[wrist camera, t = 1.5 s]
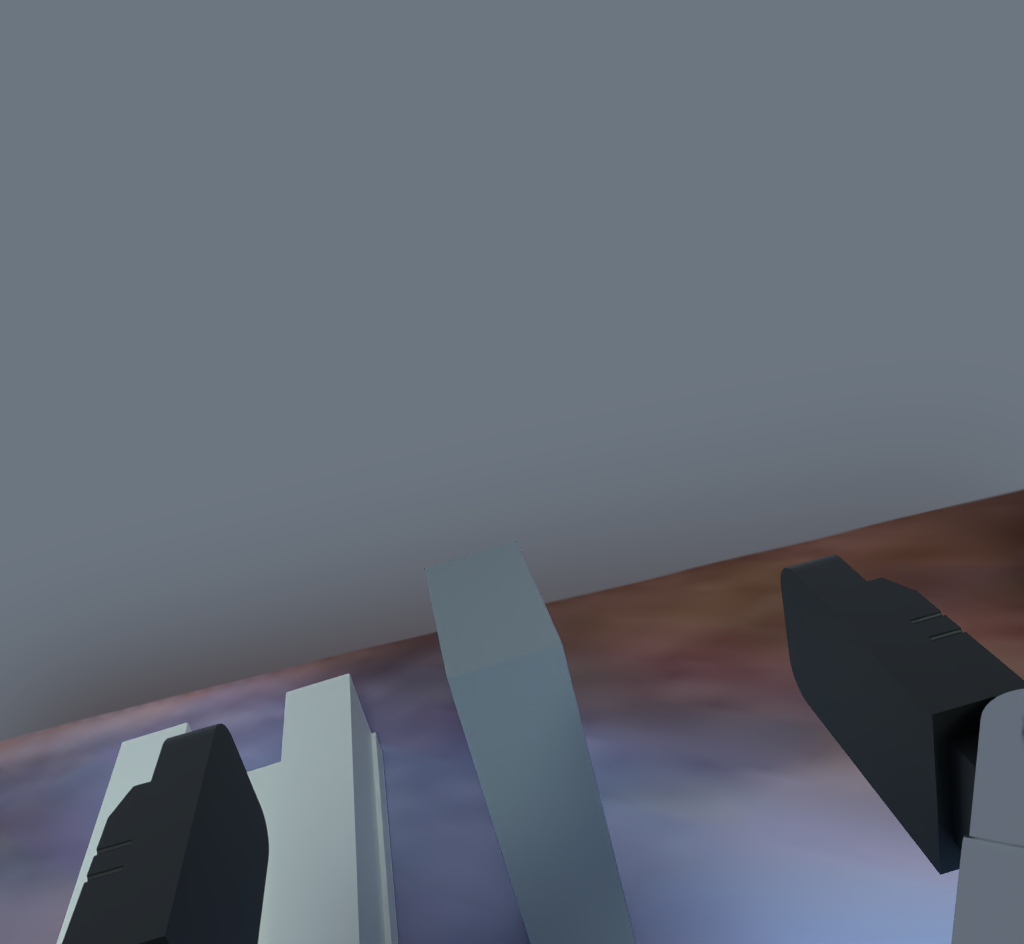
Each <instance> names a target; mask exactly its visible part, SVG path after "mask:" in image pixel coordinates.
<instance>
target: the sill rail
mask: <svg viewBox="0 0 1024 944" xmlns="http://www.w3.org/2000/svg"><path fill="white" fill-rule="evenodd" d="M188 732H192V730H191V728H190V726H189V724H188V722H187V723H184V724H181V725H177V726H174V727H171V728H167V729H164V730H161V731H158V732H154V733H151V734H148V735H144V736H141V737H138V738H135V739H131V740H128V741H125V742H122V745H121V748H120V752H119V755H118V758H117V761H116V764H115V767H114V770H113V773H112V776H111V779H110V782H109V785H108V788H107V791H106V794H105V797H104V800H103V803H102V807H101V810H100V813H99V816H98V819H97V822H96V825H95V828H94V831H93V834H92V837H91V840H90V843H89V846H88V849H87V852H86V855H85V858H84V861H83V865H82V868H81V871H80V874H79V877H78V880H77V883H76V886H75V889H74V892H73V895H72V898H71V901H70V904H69V907H68V910H67V913H66V916H65V920H64V923H63V926H62V929H61V932H60V935H59V938H58V941H57V944H62V942H63V939H64V936H65V933H66V931H67V928H68V925H69V923H70V920H71V917H72V914H73V912H74V909H75V906H76V903H77V901H78V898H79V895H80V892H81V890H82V887H83V884H84V882H87V873H88V871H89V868H90V865H91V862H92V860H93V857H94V856H95V855H97V850H96V849H97V846H98V843H99V841H100V838H101V835H102V832H103V830H104V827H105V824H106V821H107V819H108V817H109V816H110V815H111V813H112V812H113V811H114V810H115V808H116V807H117V806H118V805H119V803H120V802H121V801H122V800H123V798H124V797H125V796H126V795H127V793H128V792H129V791H130V790H131V788H132V787H133V786H136V785H140V784H143V783H147V782H150V781H151V779H152V776H153V773H154V770H155V767H156V764H157V761H158V758H159V754H160V751H161V748H162V745H163V743H164V741H165V740H166V739H167V738H170V737H174V736H177V735H181V734H184V733H188ZM247 774H248V777H249V779H250V781H251V784H252V786H253V789H254V791H255V793H256V796H257V798H258V801H259V803H260V805H261V808H262V811H263V814H264V817H265V821H266V826H267V831H268V839H269V859H268V867H267V875H266V883H265V891H264V899H263V907H262V914H261V922H260V930H259V938H258V944H399V941H398V929H397V917H396V905H395V894H394V882H393V870H392V858H391V846H390V834H389V822H388V810H387V798H386V787H385V775H384V763H383V751H382V749H381V746H380V743H379V740H378V738H377V735H376V732H375V733H371V731H370V728H369V725H368V723H367V720H366V717H365V714H364V712H363V709H362V706H361V703H360V701H359V698H358V695H357V693H356V690H355V687H354V684H353V682H352V679H351V676H350V673H348V674H345V675H342V676H339V677H335V678H332V679H329V680H325V681H322V682H319V683H315V684H312V685H309V686H306V687H302V688H299V689H296V690H292V691H289V692H286V702H285V715H284V729H283V743H282V756H281V762H278V763H275V764H271V765H268V766H265V767H262V768H259V769H255V770H252V771H249V772H247Z"/></svg>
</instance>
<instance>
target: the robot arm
mask: <svg viewBox="0 0 1024 944" xmlns="http://www.w3.org/2000/svg"><path fill="white" fill-rule="evenodd" d="M781 590H782V598H783V606H784V614H785V623H786V631H787V639H788V647H789V656H790V662H791V667H792V670H793V674H794V677H795V680H796V682H797V685H798V687H799V689H800V691H801V693H802V695H803V697H804V699H805V700H806V702H807V703H808V705H809V706H810V707H811V708H812V710H813V711H814V712H815V714H816V715H817V716H818V717H819V719H820V720H821V721H822V723H823V724H824V725H825V727H826V728H827V729H828V730H829V732H830V733H831V734H832V736H833V737H834V738H835V739H836V741H837V742H838V743H839V745H840V746H841V747H842V748H843V750H844V751H845V752H846V754H847V755H848V756H849V757H850V759H851V760H852V761H853V763H854V764H855V765H856V766H857V768H858V769H859V770H860V772H861V773H862V774H863V776H864V777H865V778H866V779H867V781H868V782H869V783H870V785H871V786H872V787H873V788H874V790H875V791H876V792H877V794H878V795H879V796H880V797H881V799H882V800H883V801H884V803H885V804H886V805H887V806H888V808H889V809H890V810H891V812H892V813H893V814H894V815H895V817H896V818H897V819H898V821H899V822H900V823H901V824H902V826H903V827H904V828H905V830H906V831H907V832H908V834H909V835H910V836H911V837H912V839H913V840H914V841H915V843H916V844H917V845H918V846H919V848H920V849H921V850H922V852H923V853H924V854H925V855H926V857H927V858H928V859H929V861H930V862H931V863H932V864H933V866H934V867H935V868H936V870H937V871H938V872H939V873H940V875H941V874H944V873H947V872H950V871H954V870H957V869H959V877H958V887H957V896H956V906H955V915H954V924H953V934H952V943H951V944H1024V680H1023V679H1021V678H1020V677H1019V676H1018V675H1017V674H1015V673H1014V672H1013V671H1012V670H1011V669H1009V668H1008V667H1007V666H1006V665H1005V664H1003V663H1002V662H1001V661H1000V660H999V659H997V658H996V657H995V656H994V655H993V654H991V653H990V652H989V651H988V650H987V649H985V648H984V647H983V646H982V645H981V644H979V643H978V642H977V641H976V640H975V639H973V638H972V637H971V636H970V635H969V634H968V633H966V632H964V633H962V631H961V628H960V627H959V626H958V625H957V624H956V623H954V622H953V621H952V620H951V619H950V618H948V617H947V616H946V615H945V616H942V614H941V611H940V610H939V609H938V608H936V607H935V606H934V605H933V604H932V603H930V602H929V601H928V600H927V599H926V598H924V597H923V596H922V595H921V594H920V593H918V592H917V591H915V590H912V589H910V588H907V587H905V586H902V585H900V584H897V583H894V582H892V581H889V580H887V579H884V578H879V579H875V580H872V581H868V582H867V581H866V580H865V579H863V578H862V577H861V576H860V575H859V574H858V573H857V572H856V571H855V570H853V569H852V568H851V567H850V566H849V565H848V564H847V563H846V562H845V561H843V560H842V559H841V558H840V557H839V556H837V555H830V556H826V557H823V558H819V559H816V560H812V561H808V562H805V563H801V564H798V565H794V566H790V567H787V568H784V569H783V570H782V573H781ZM96 850H97V855H95V856H94V857H93V860H92V862H91V865H90V868H89V871H88V873H87V882H84V884H83V887H82V890H81V892H80V895H79V898H78V901H77V903H76V906H75V909H74V912H73V914H72V917H71V920H70V923H69V925H68V928H67V931H66V933H65V936H64V939H63V942H62V944H258V938H259V930H260V922H261V914H262V907H263V899H264V891H265V883H266V875H267V867H268V859H269V839H268V831H267V826H266V821H265V817H264V814H263V811H262V808H261V805H260V803H259V801H258V798H257V796H256V793H255V791H254V789H253V786H252V784H251V781H250V779H249V777H248V774H247V772H246V769H245V767H244V765H243V762H242V760H241V757H240V755H239V753H238V750H237V748H236V745H235V743H234V741H233V738H232V736H231V734H230V732H229V730H228V729H227V728H226V726H225V725H223V724H217V725H213V726H210V727H206V728H202V729H199V730H195V731H192V732H188V733H184V734H181V735H177V736H174V737H170V738H167V739H166V740H165V741H164V743H163V745H162V748H161V751H160V754H159V758H158V761H157V764H156V767H155V770H154V773H153V776H152V779H151V781H150V782H147V783H143V784H140V785H136V786H133V787H132V788H131V790H130V791H129V792H128V793H127V795H126V796H125V797H124V798H123V800H122V801H121V802H120V803H119V805H118V806H117V807H116V808H115V810H114V811H113V812H112V813H111V815H110V816H109V817H108V819H107V821H106V824H105V827H104V830H103V832H102V835H101V838H100V841H99V843H98V846H97V849H96Z"/></svg>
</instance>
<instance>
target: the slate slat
mask: <svg viewBox="0 0 1024 944" xmlns="http://www.w3.org/2000/svg"><path fill="white" fill-rule="evenodd" d="M424 570H425V575H426V580H427V585H428V589H429V594H430V599H431V604H432V609H433V613H434V618H435V623H436V628H437V633H438V637H439V642H440V647H441V652H442V656H443V661H444V666H445V671H446V676H447V680H448V683H449V686H450V689H451V693H452V696H453V699H454V702H455V705H456V708H457V712H458V715H459V718H460V721H461V724H462V728H463V731H464V734H465V737H466V740H467V744H468V747H469V750H470V753H471V756H472V760H473V763H474V766H475V769H476V772H477V775H478V779H479V782H480V785H481V788H482V791H483V795H484V798H485V801H486V804H487V807H488V811H489V814H490V817H491V820H492V823H493V826H494V830H495V833H496V836H497V839H498V842H499V846H500V849H501V852H502V855H503V858H504V862H505V865H506V868H507V871H508V874H509V877H510V881H511V884H512V887H513V890H514V893H515V897H516V900H517V903H518V906H519V909H520V913H521V916H522V919H523V922H524V925H525V929H526V932H527V935H528V938H529V941H530V944H636V941H635V937H634V933H633V929H632V925H631V921H630V917H629V913H628V909H627V905H626V901H625V897H624V893H623V889H622V885H621V881H620V877H619V872H618V868H617V864H616V860H615V856H614V852H613V848H612V844H611V840H610V836H609V832H608V828H607V824H606V820H605V816H604V812H603V808H602V804H601V799H600V795H599V791H598V787H597V783H596V779H595V775H594V771H593V767H592V763H591V759H590V755H589V751H588V747H587V743H586V739H585V735H584V731H583V726H582V722H581V718H580V714H579V710H578V706H577V702H576V698H575V694H574V690H573V686H572V682H571V678H570V674H569V670H568V666H567V662H566V658H565V653H564V649H563V645H562V642H561V640H560V638H559V635H558V633H557V631H556V629H555V626H554V624H553V622H552V619H551V617H550V615H549V613H548V610H547V608H546V606H545V604H544V601H543V599H542V597H541V594H540V592H539V590H538V588H537V585H536V583H535V581H534V579H533V576H532V574H531V572H530V569H529V567H528V565H527V563H526V560H525V558H524V556H523V554H522V551H521V550H520V547H519V544H518V542H517V541H515V542H511V543H508V544H505V545H501V546H498V547H495V548H491V549H488V550H485V551H481V552H478V553H474V554H471V555H467V556H464V557H461V558H457V559H454V560H451V561H447V562H444V563H440V564H437V565H434V566H430V567H427V568H424Z"/></svg>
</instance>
